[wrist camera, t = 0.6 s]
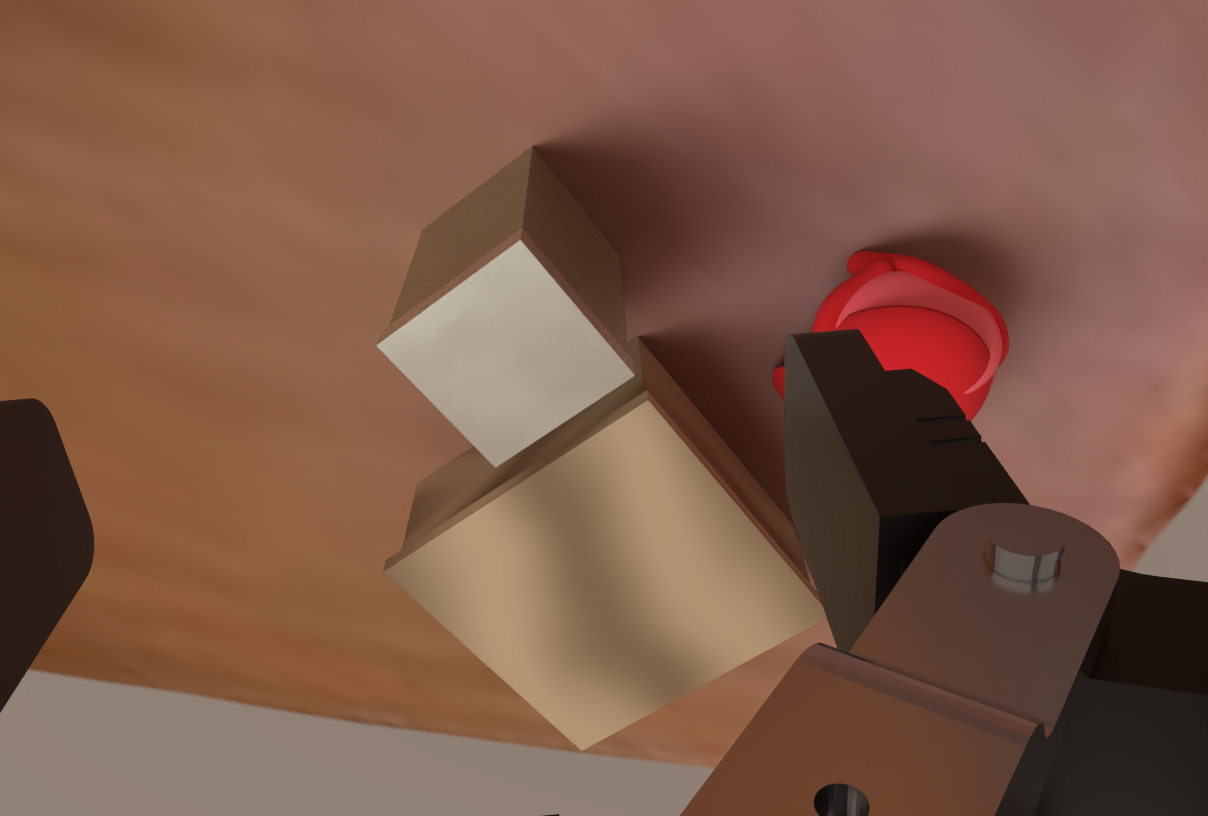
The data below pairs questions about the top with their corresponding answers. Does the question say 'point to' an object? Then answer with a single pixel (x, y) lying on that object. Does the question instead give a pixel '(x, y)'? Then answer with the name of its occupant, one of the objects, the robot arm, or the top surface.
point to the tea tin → (512, 311)
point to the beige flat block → (608, 559)
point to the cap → (918, 324)
